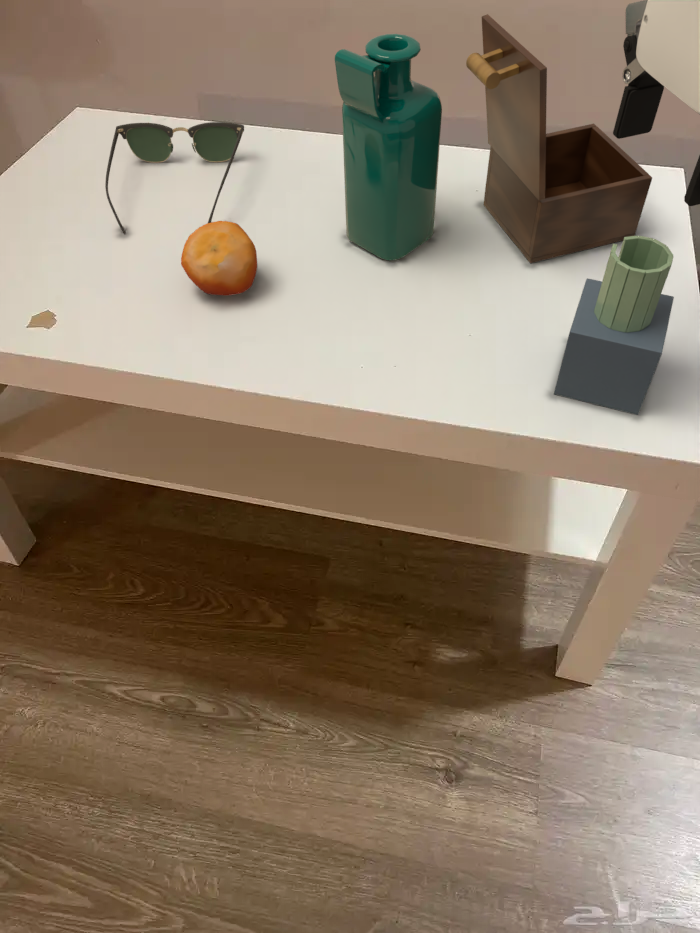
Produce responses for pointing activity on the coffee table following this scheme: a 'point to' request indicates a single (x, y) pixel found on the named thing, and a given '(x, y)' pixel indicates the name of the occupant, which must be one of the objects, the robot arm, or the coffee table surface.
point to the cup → (633, 284)
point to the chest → (570, 196)
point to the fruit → (220, 258)
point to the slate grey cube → (611, 356)
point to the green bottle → (388, 147)
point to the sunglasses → (156, 145)
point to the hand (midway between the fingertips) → (665, 165)
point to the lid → (514, 103)
